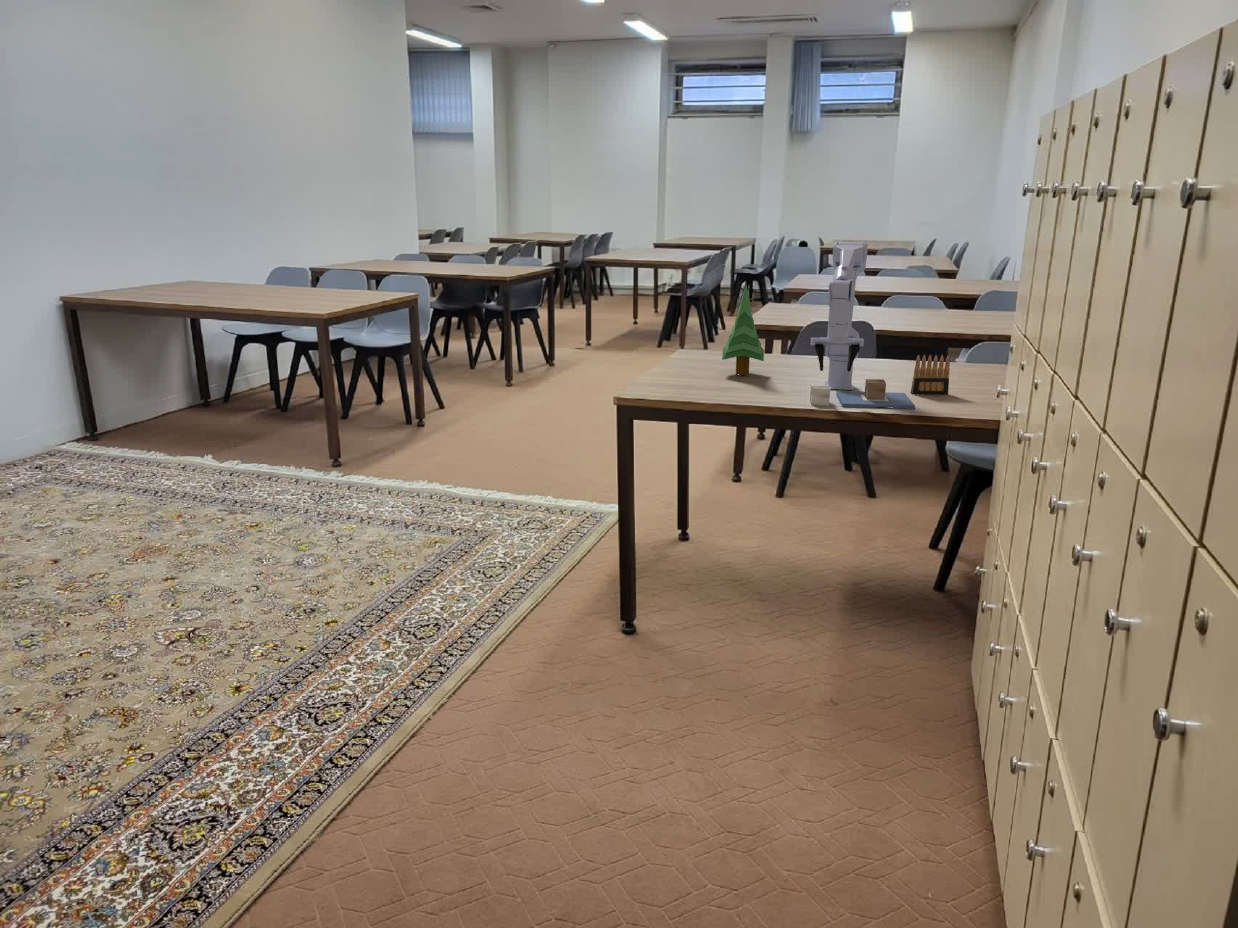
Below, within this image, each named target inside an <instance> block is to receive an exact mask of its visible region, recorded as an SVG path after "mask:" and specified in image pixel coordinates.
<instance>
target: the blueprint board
mask: <svg viewBox="0 0 1238 928" xmlns="http://www.w3.org/2000/svg"><path fill="white" fill-rule="evenodd" d="M835 394H836V397H837V399H838V401H839V403H840V406H841V407H842V408H860V407H893V408H892V409H895V408H910V409H909V410H915V409H916V405H915V403H914V402H913V401H912V400H911V399H910V398H909V397H908V394H906V393H905V392H887V391H885V400H867V399H866V397H865V396H864V395H865V391H851V390H848V391H847V390H846V391H845V390H841V391H840V390H836V392H835Z"/></svg>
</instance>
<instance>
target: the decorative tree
mask: <svg viewBox="0 0 1238 928" xmlns="http://www.w3.org/2000/svg"><path fill="white" fill-rule="evenodd" d="M739 302H740V303H739V307H738V311H737V315H736V318H735V320H734V325H733V327H732V329H731V333H730V334H729V335H728V340H727V341H726V342H725V346H724V347H723V348H722V355H721V356H722V357H721V360H722V361H723V360H728V359H733V358H735V360H736V361H735V375H736V374H739V375H750V359H754V360H758V361H762V362H764V361H765V356H764V355H765V349H764V348H763V347H762V342H761V341H760V336H759V335H758V333H757V329H756V326H755V321H754V318H753V317H754V316H753V315H752V311H753V310H752V306H751V301H750V295H749V291H748V286H747V284H745V285H744V290H743V292H742V296H741V299H740V301H739Z"/></svg>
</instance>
